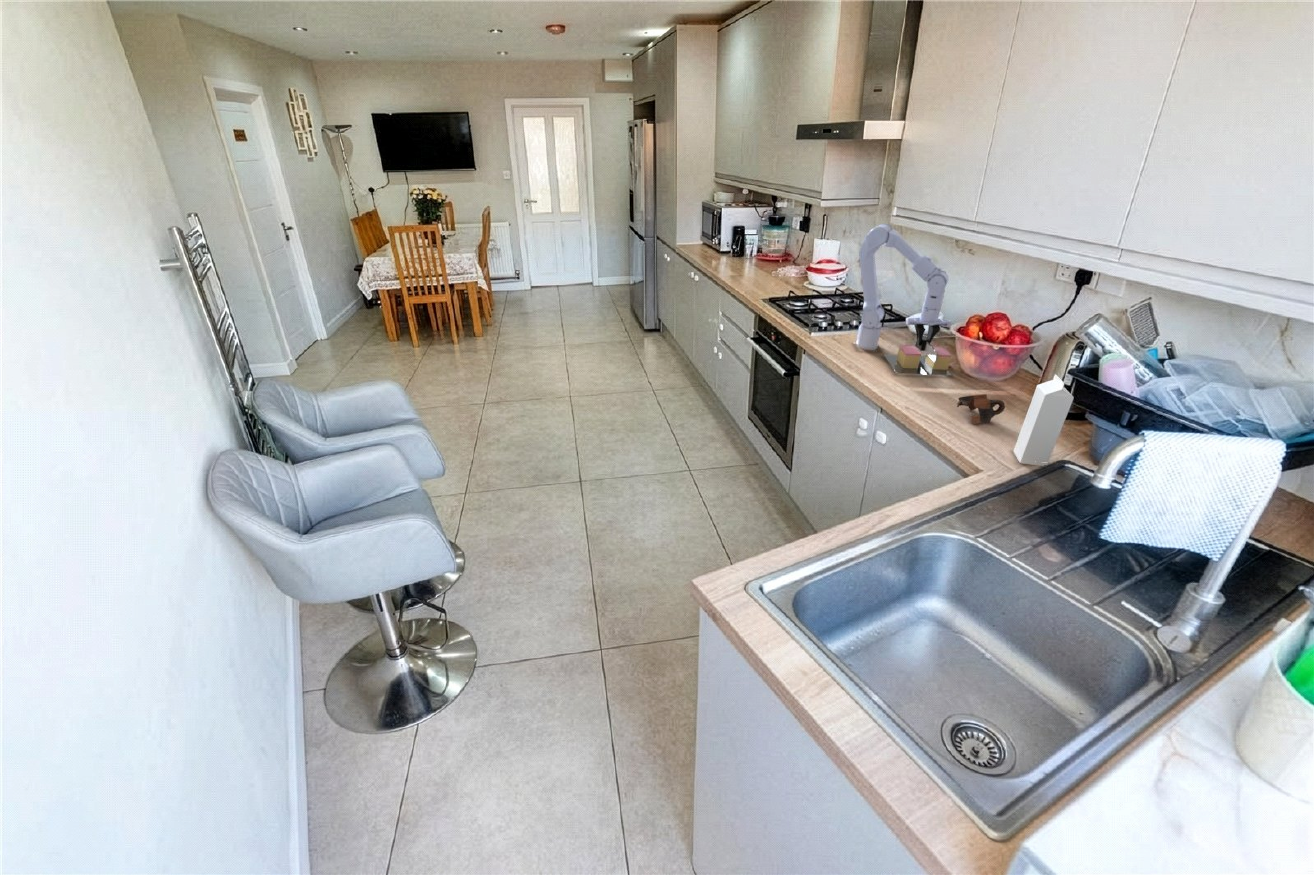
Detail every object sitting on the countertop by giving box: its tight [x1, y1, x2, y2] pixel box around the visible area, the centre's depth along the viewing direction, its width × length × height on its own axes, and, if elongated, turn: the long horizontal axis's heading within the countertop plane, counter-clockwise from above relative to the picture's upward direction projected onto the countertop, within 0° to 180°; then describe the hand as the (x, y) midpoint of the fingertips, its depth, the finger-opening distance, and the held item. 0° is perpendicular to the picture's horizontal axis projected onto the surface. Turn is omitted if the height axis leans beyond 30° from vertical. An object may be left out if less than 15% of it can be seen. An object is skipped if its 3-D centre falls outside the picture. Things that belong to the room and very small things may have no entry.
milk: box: [1013, 374, 1075, 467], centre depth 136 cm, size 6×6×22 cm
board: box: [883, 354, 952, 376], centre depth 197 cm, size 18×18×1 cm
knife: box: [916, 335, 938, 363], centre depth 196 cm, size 17×2×4 cm, turn 174°
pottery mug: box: [956, 393, 1006, 425], centre depth 161 cm, size 12×10×8 cm
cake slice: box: [925, 346, 952, 371], centre depth 194 cm, size 8×5×5 cm, turn 174°
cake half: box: [897, 345, 922, 369], centre depth 195 cm, size 8×5×5 cm, turn 174°
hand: (922, 344), depth 202 cm, fingers closed on knife, 2 cm apart
